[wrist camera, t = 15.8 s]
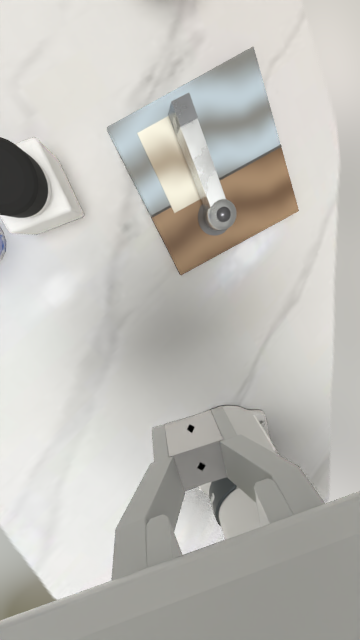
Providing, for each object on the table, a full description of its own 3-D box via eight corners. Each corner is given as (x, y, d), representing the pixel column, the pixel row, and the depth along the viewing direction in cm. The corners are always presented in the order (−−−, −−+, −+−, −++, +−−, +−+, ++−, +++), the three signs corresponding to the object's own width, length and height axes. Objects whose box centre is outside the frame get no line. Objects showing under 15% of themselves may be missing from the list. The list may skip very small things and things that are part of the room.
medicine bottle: (57, 157, 30) (10, 109, 19) (85, 216, 32) (58, 204, 21) (3, 178, 30) (-78, 141, 18) (35, 235, 32) (-19, 234, 21)
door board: (293, 211, 37) (299, 210, 36) (179, 273, 37) (181, 275, 36) (249, 53, 30) (254, 45, 28) (107, 131, 30) (106, 126, 29)
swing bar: (231, 223, 34) (241, 221, 31) (209, 234, 34) (216, 234, 31) (189, 103, 29) (195, 87, 26) (162, 117, 29) (165, 102, 26)
